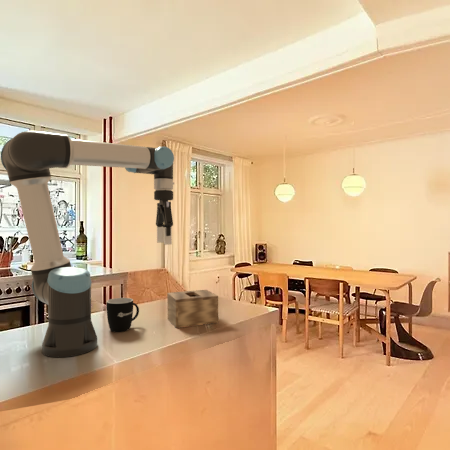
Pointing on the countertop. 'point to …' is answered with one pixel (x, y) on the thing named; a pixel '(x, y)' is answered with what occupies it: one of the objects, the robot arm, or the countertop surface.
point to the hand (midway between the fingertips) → (164, 243)
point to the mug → (120, 314)
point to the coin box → (192, 308)
